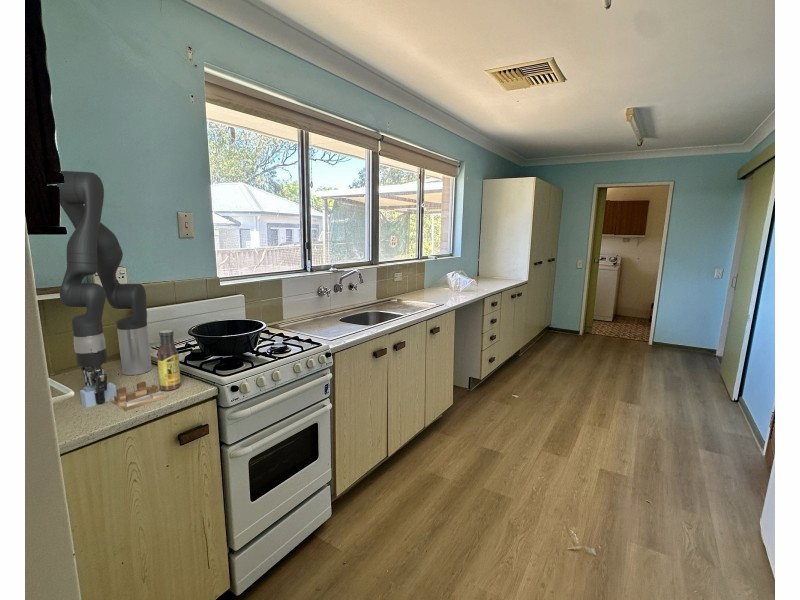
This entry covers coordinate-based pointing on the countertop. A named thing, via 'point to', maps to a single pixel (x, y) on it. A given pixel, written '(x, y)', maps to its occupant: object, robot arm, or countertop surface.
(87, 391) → the light blue block
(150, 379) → the countertop surface
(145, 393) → the jig
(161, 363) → the sauce bottle
